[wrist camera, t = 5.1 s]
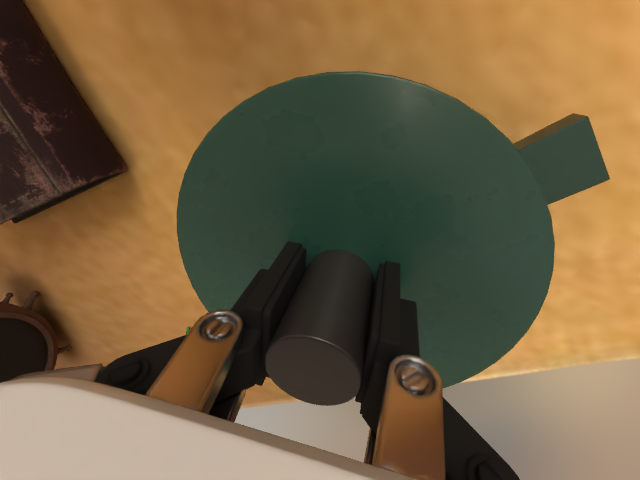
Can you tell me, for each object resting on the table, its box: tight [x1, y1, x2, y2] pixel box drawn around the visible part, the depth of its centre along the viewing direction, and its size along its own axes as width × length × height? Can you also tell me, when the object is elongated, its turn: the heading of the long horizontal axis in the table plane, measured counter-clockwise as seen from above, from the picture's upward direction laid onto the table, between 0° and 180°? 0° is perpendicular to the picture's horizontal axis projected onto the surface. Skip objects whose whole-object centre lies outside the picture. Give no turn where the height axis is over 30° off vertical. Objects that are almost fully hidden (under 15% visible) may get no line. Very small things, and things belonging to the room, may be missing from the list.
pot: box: [513, 114, 610, 205], centre depth 17 cm, size 14×19×8 cm
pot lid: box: [177, 71, 555, 406], centre depth 11 cm, size 15×15×6 cm
